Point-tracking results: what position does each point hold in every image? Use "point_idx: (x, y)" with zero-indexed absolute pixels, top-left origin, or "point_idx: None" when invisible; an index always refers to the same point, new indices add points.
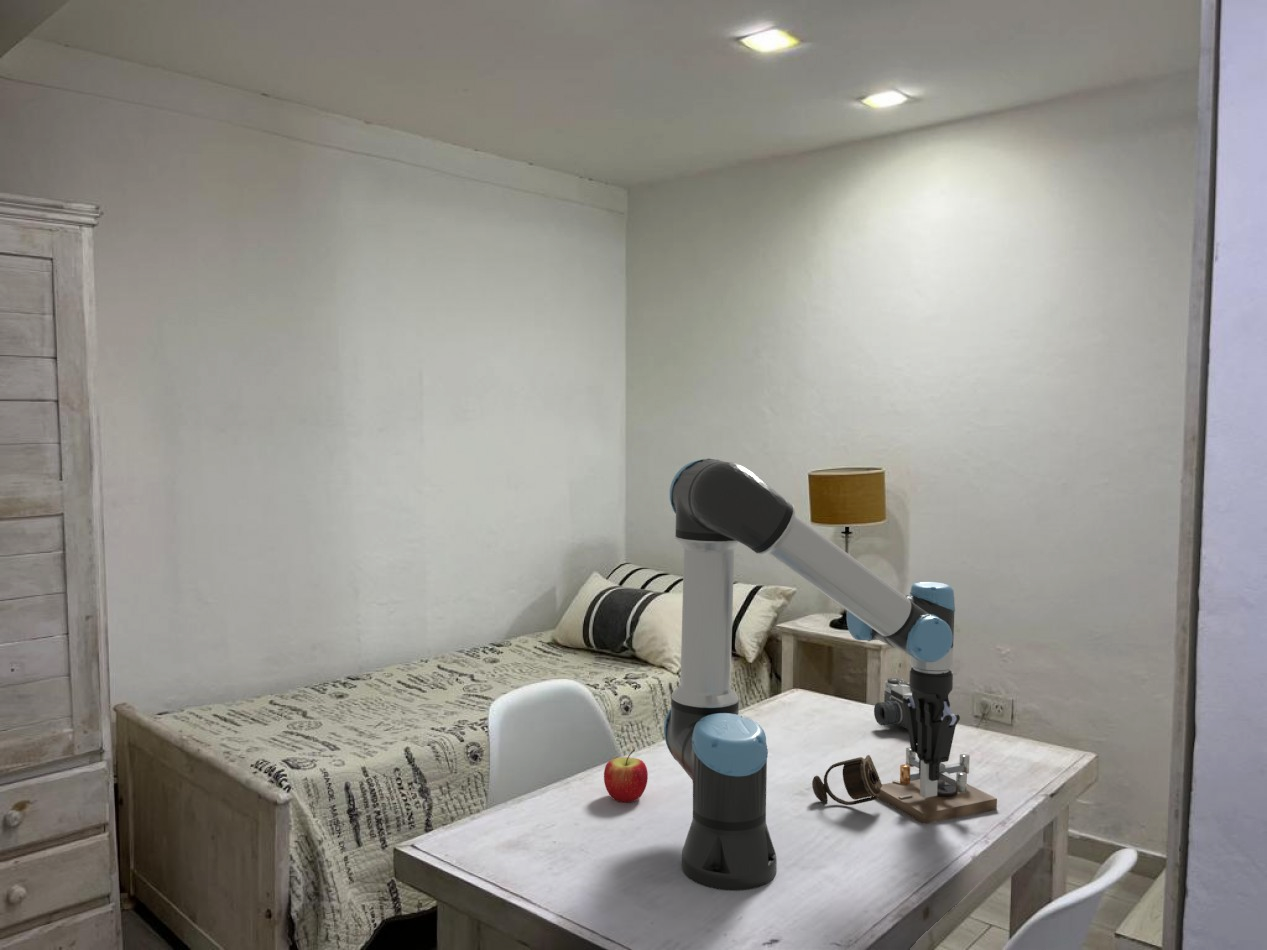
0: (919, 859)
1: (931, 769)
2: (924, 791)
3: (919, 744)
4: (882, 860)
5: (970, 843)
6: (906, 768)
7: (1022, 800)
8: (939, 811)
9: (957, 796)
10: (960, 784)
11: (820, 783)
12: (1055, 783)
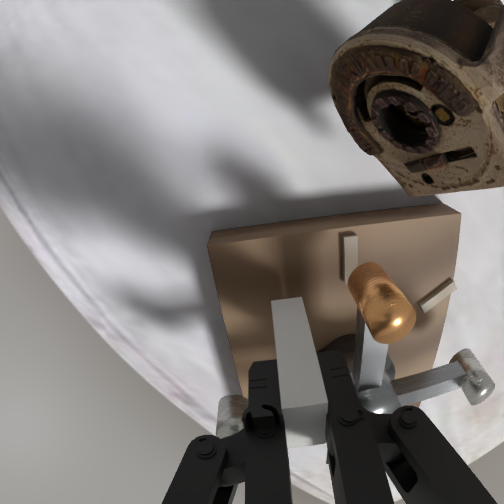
0: (24, 115)
1: (261, 399)
2: (278, 313)
3: (364, 471)
4: (42, 22)
5: (85, 286)
6: (373, 318)
7: None
8: (221, 305)
9: None
10: (221, 418)
11: (478, 8)
12: (313, 492)
